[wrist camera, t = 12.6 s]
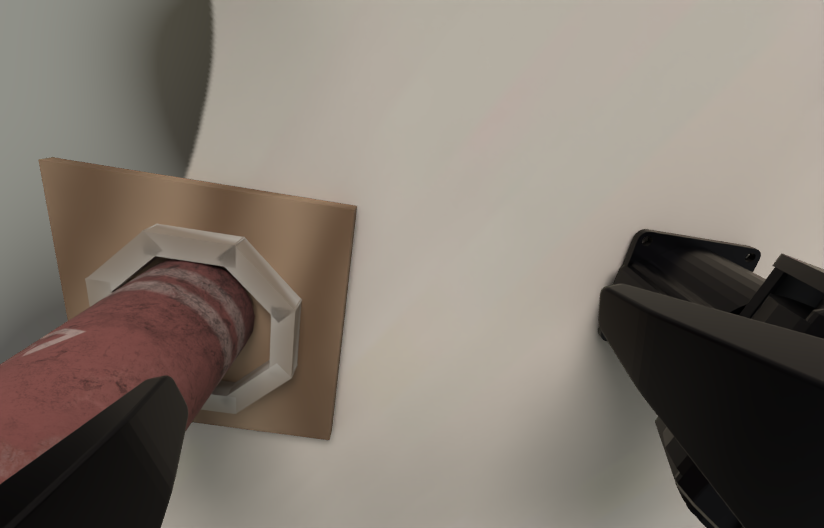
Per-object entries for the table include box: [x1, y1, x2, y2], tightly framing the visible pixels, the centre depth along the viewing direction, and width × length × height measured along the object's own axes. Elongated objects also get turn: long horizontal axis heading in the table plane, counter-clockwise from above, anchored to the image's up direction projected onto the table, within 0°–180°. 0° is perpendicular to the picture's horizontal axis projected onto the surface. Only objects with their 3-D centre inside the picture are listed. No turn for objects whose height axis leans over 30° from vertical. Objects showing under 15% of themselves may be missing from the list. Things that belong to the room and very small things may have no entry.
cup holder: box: [39, 157, 357, 440], centre depth 22 cm, size 15×15×2 cm
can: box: [0, 259, 255, 484], centre depth 16 cm, size 6×6×14 cm
